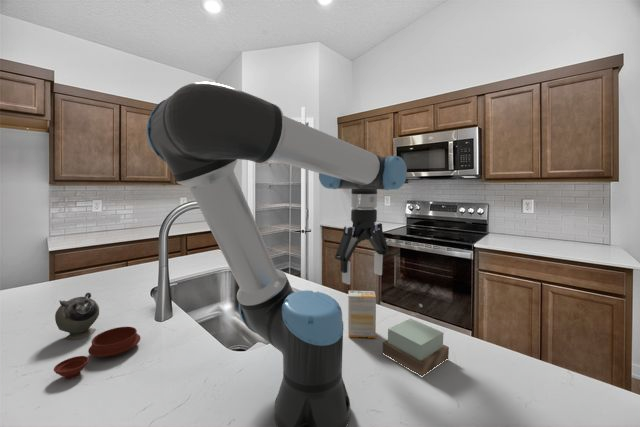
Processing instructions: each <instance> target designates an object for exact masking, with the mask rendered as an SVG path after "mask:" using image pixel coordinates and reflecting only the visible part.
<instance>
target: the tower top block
mask: <svg viewBox="0 0 640 427" xmlns="http://www.w3.org/2000/svg"><path fill="white" fill-rule="evenodd" d="M387 340H388V343H389V344H391V345H393V346H394V347H396V348H398V349H400V350H402V351H403V352H405V353H407V354H409V355H410V356H412V357H414V358H416V359H418V360H420V361H421V360H423V359H424V358H426V357H428V356H429V355H431V354H433V353H434V352H436V351H437V350H439V349H441V348H442V347H443V345H444V332H443V331H440V330H439V329H437V328H434V327H432V326H429V325H427V324H426V323H424V322H423V323H422V322H420V321H418V320H415V319H413V318H408V319H407V320H404V321H402V322H400V323H397V324H396V325H393V326H391V327H389V328H387Z"/></svg>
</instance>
